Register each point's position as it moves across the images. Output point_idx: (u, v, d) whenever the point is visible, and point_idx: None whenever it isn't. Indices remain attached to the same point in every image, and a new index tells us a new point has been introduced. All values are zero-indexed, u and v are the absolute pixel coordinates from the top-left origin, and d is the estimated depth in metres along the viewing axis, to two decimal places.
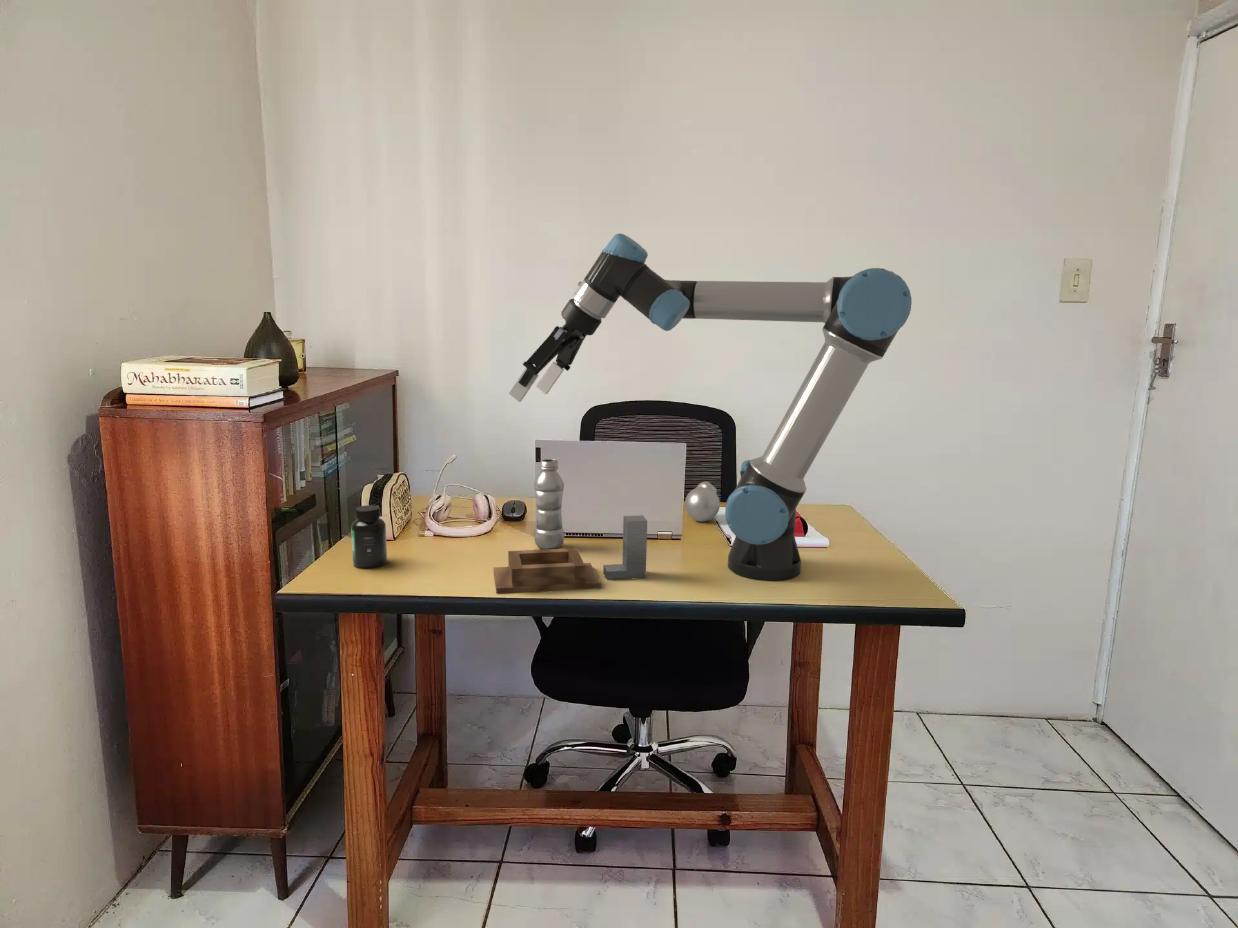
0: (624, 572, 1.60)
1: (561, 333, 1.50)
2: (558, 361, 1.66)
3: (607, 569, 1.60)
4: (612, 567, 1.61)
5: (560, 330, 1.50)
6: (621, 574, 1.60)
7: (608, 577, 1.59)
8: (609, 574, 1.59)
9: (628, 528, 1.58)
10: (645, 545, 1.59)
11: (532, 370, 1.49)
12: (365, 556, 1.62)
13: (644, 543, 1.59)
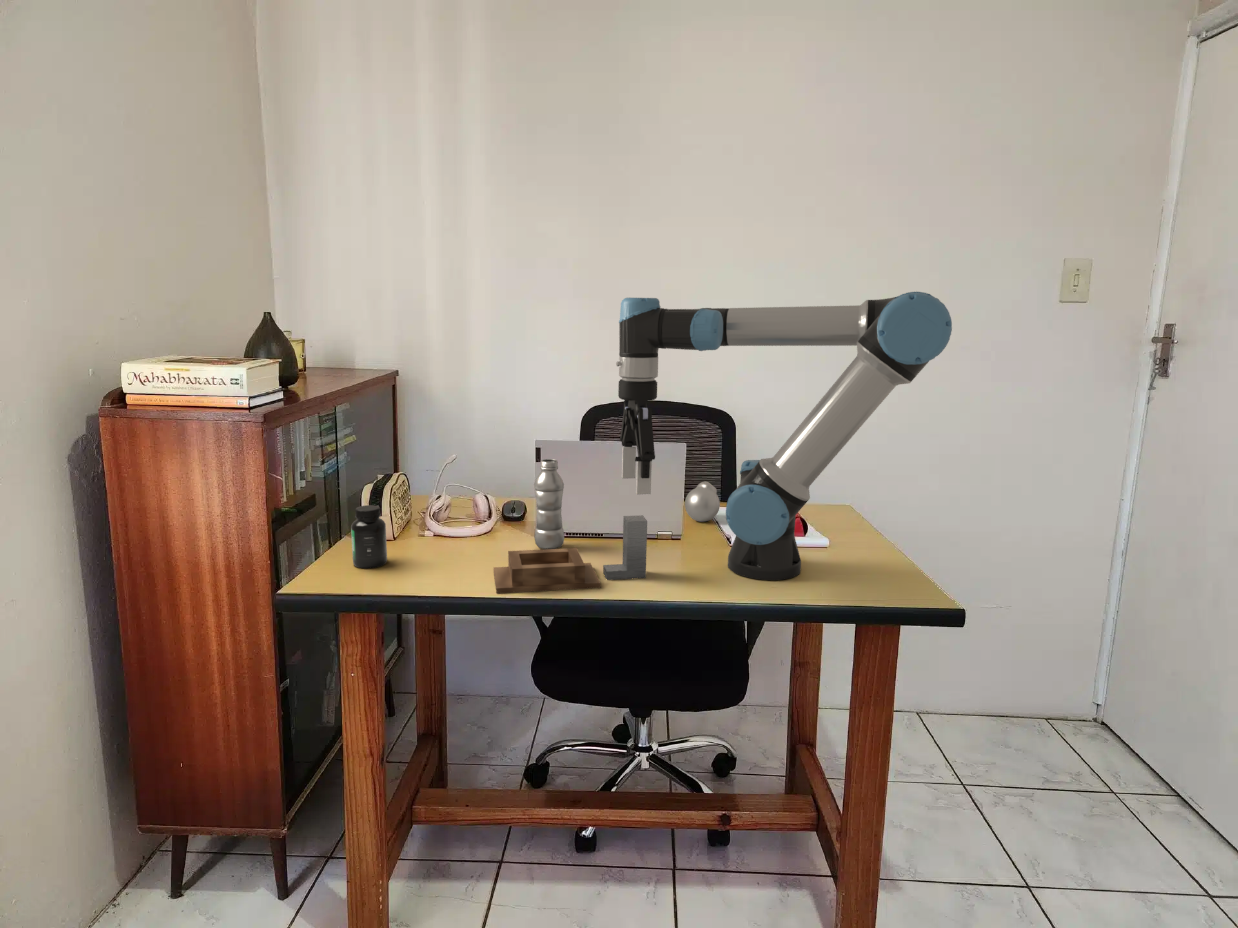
0: (624, 572, 1.60)
1: (647, 411, 1.49)
2: (625, 443, 1.64)
3: (607, 569, 1.60)
4: (612, 567, 1.61)
5: (644, 409, 1.49)
6: (621, 574, 1.60)
7: (608, 577, 1.59)
8: (609, 574, 1.59)
9: (628, 528, 1.58)
10: (645, 545, 1.59)
11: (652, 457, 1.47)
12: (365, 556, 1.62)
13: (644, 543, 1.59)
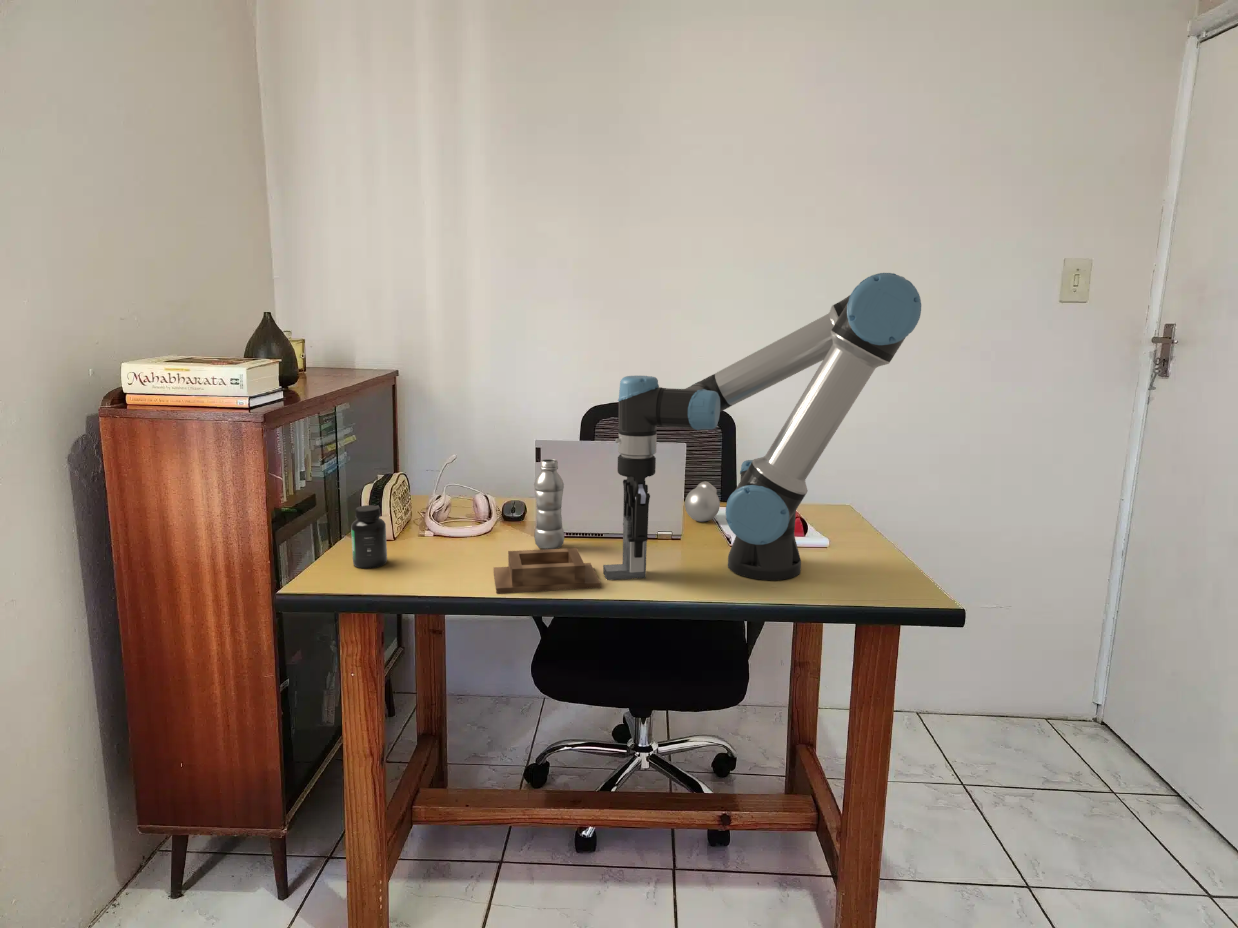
0: (624, 572, 1.60)
1: (645, 497, 1.52)
2: None
3: (607, 569, 1.60)
4: (612, 567, 1.61)
5: (643, 496, 1.52)
6: (621, 574, 1.60)
7: (608, 577, 1.59)
8: (609, 574, 1.59)
9: (628, 528, 1.58)
10: (645, 545, 1.59)
11: (645, 539, 1.55)
12: (365, 556, 1.62)
13: (644, 543, 1.59)
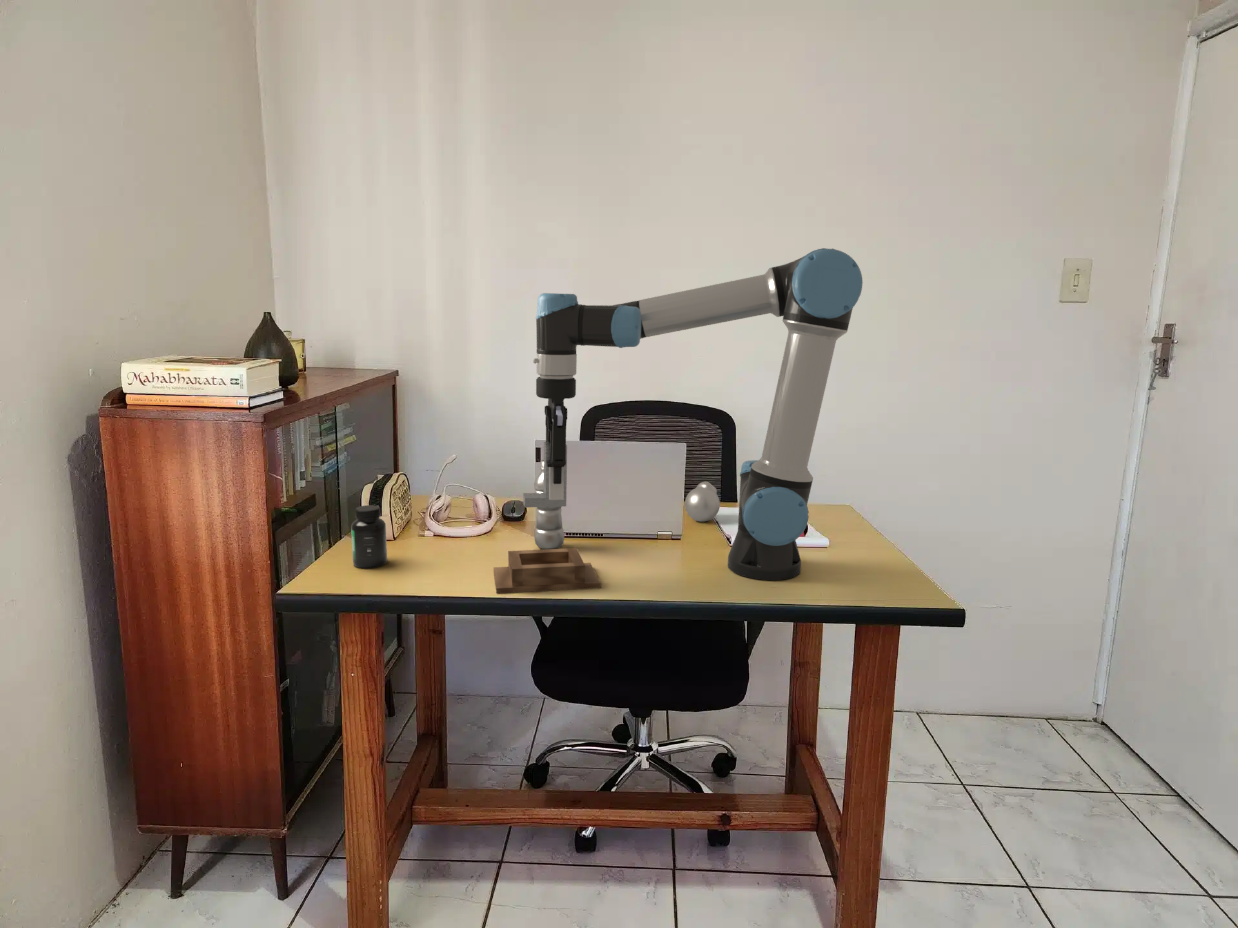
0: (543, 499, 1.53)
1: (562, 419, 1.46)
2: None
3: (526, 496, 1.54)
4: (531, 495, 1.55)
5: (559, 417, 1.46)
6: (540, 502, 1.53)
7: (526, 504, 1.53)
8: (527, 501, 1.53)
9: (547, 453, 1.51)
10: (565, 471, 1.53)
11: (563, 463, 1.49)
12: (365, 556, 1.62)
13: (564, 469, 1.53)
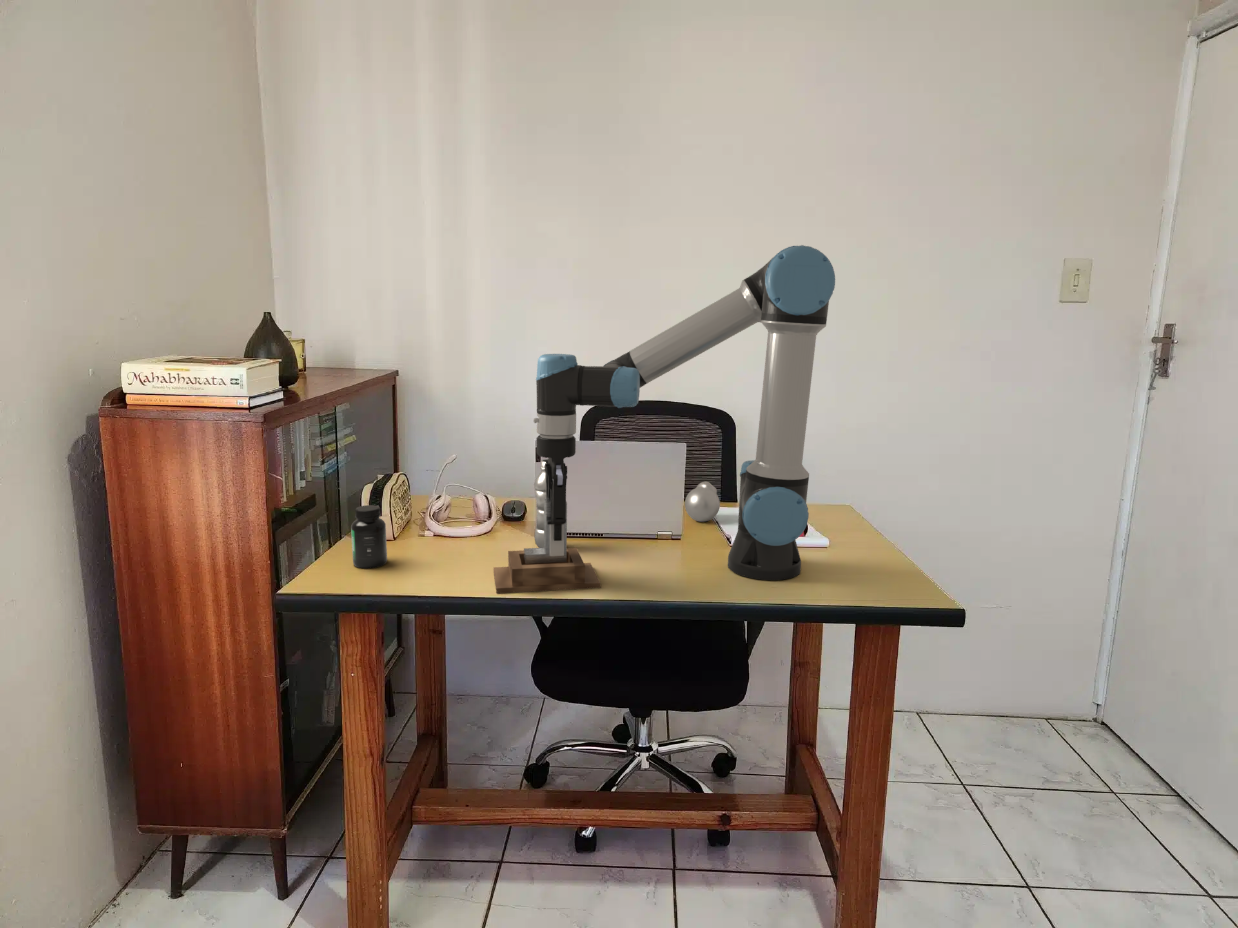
0: (544, 555, 1.55)
1: (562, 478, 1.48)
2: None
3: (526, 552, 1.56)
4: (532, 550, 1.57)
5: (559, 477, 1.48)
6: (541, 558, 1.55)
7: (527, 560, 1.55)
8: (528, 557, 1.55)
9: (547, 510, 1.54)
10: (565, 528, 1.55)
11: (563, 521, 1.51)
12: (365, 556, 1.62)
13: (564, 526, 1.55)
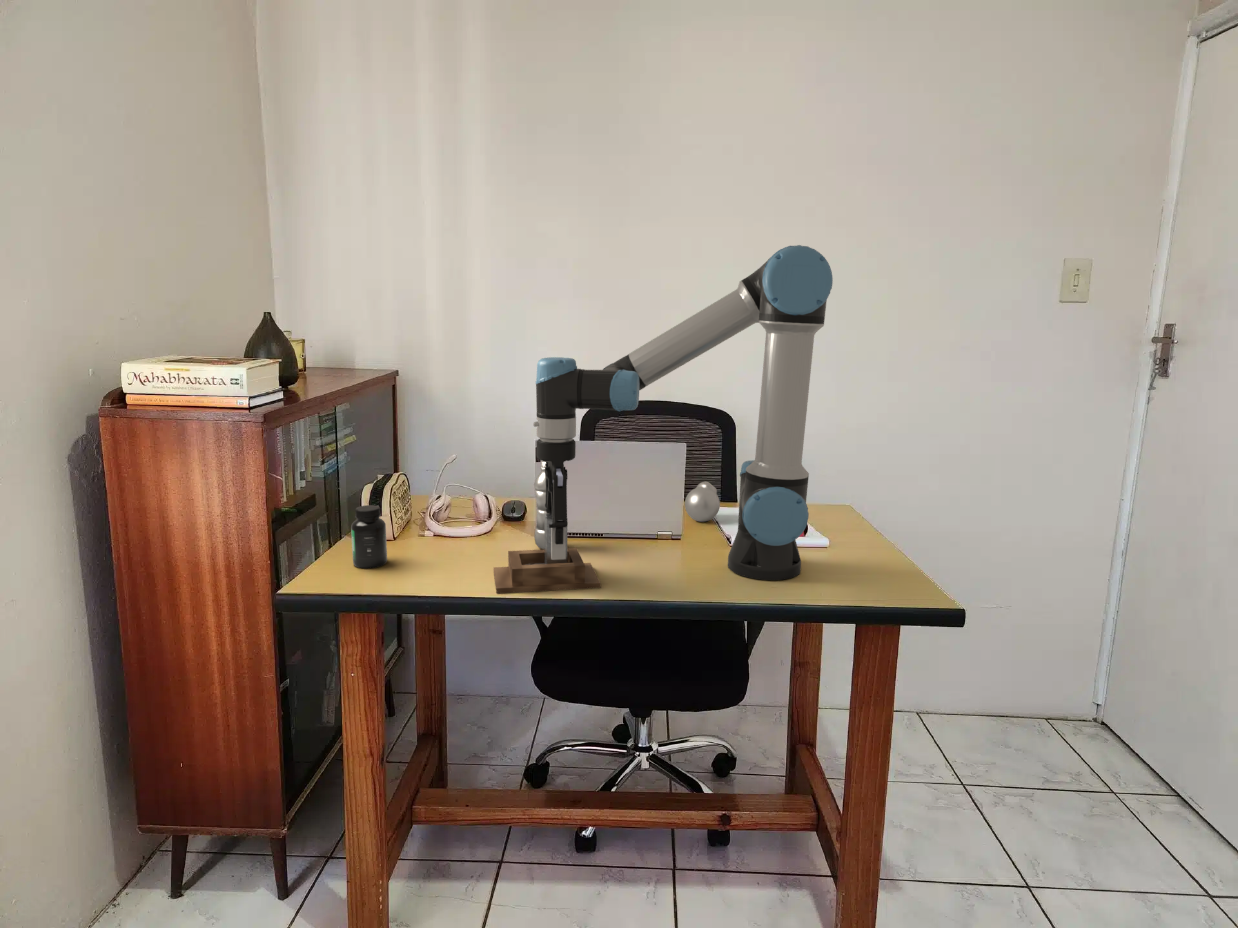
0: None
1: (562, 479, 1.48)
2: (550, 511, 1.61)
3: None
4: None
5: (559, 477, 1.48)
6: None
7: None
8: None
9: (547, 526, 1.54)
10: (566, 544, 1.56)
11: (564, 524, 1.49)
12: (365, 556, 1.62)
13: None
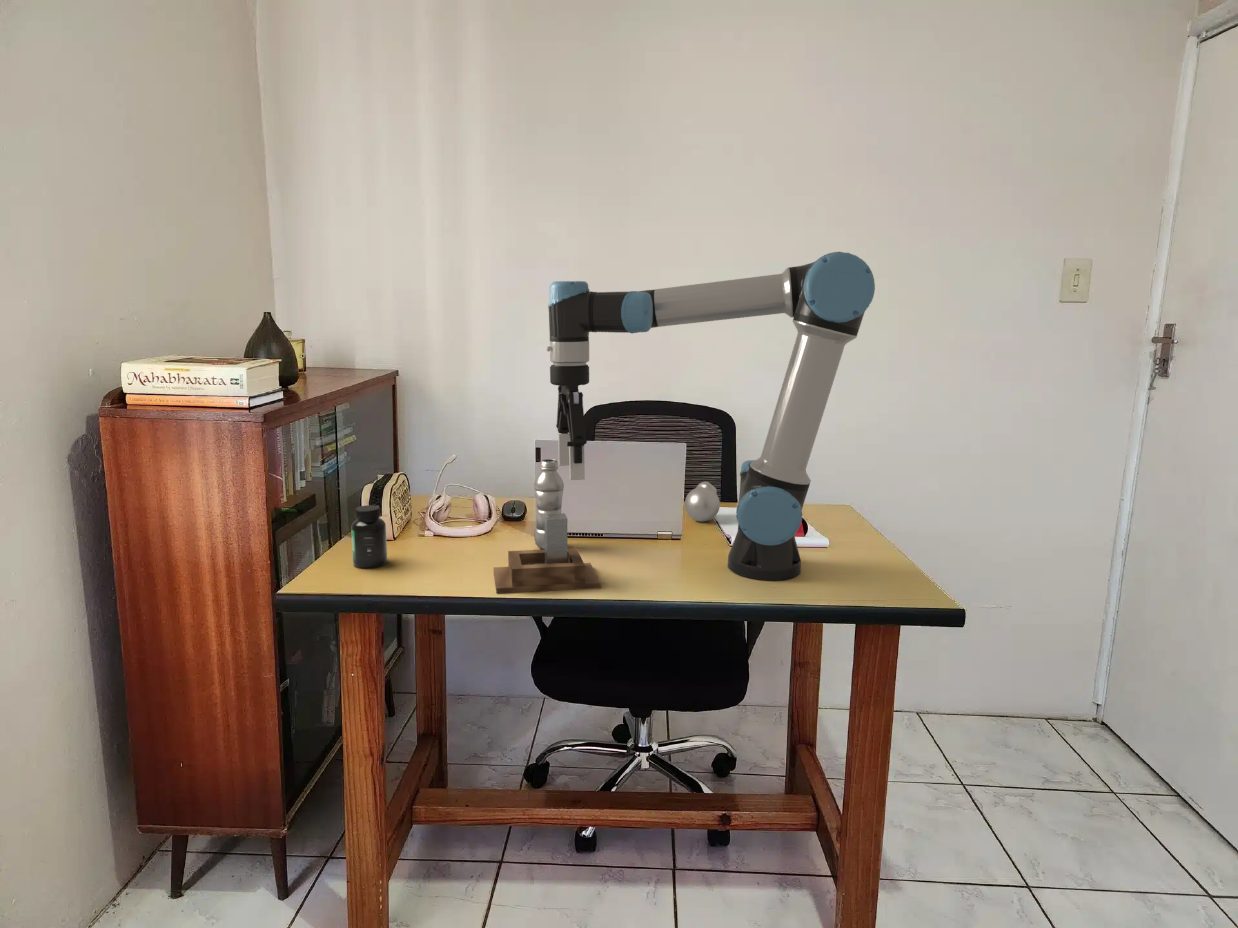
0: None
1: (578, 395, 1.47)
2: (561, 430, 1.62)
3: None
4: None
5: (575, 393, 1.47)
6: None
7: None
8: None
9: (547, 526, 1.54)
10: (566, 544, 1.56)
11: (584, 442, 1.46)
12: (365, 556, 1.62)
13: (565, 541, 1.56)
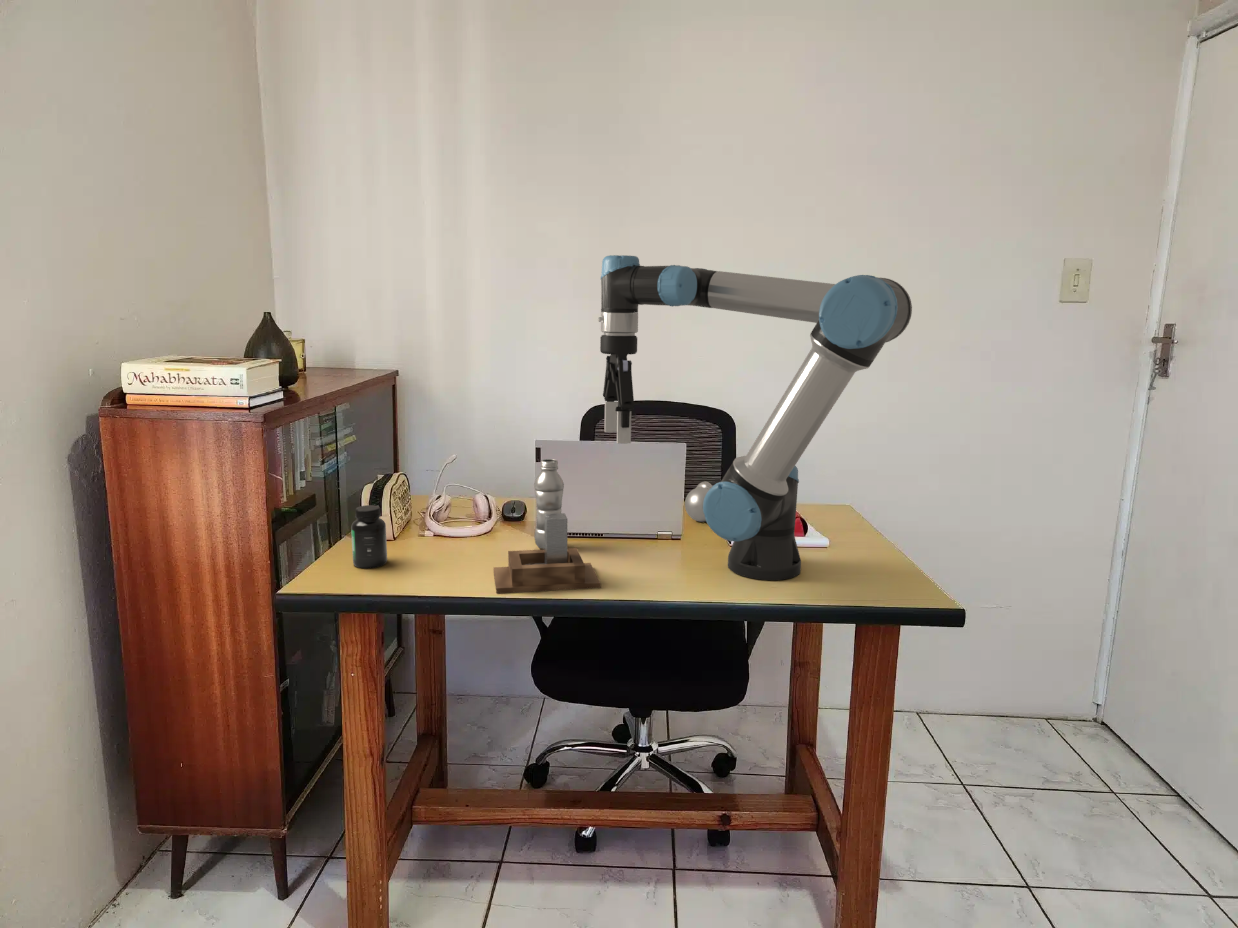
0: None
1: (627, 363, 1.56)
2: (608, 398, 1.71)
3: None
4: None
5: (624, 361, 1.56)
6: None
7: None
8: None
9: (547, 526, 1.54)
10: (566, 544, 1.56)
11: (632, 407, 1.55)
12: (365, 556, 1.62)
13: (565, 541, 1.56)
